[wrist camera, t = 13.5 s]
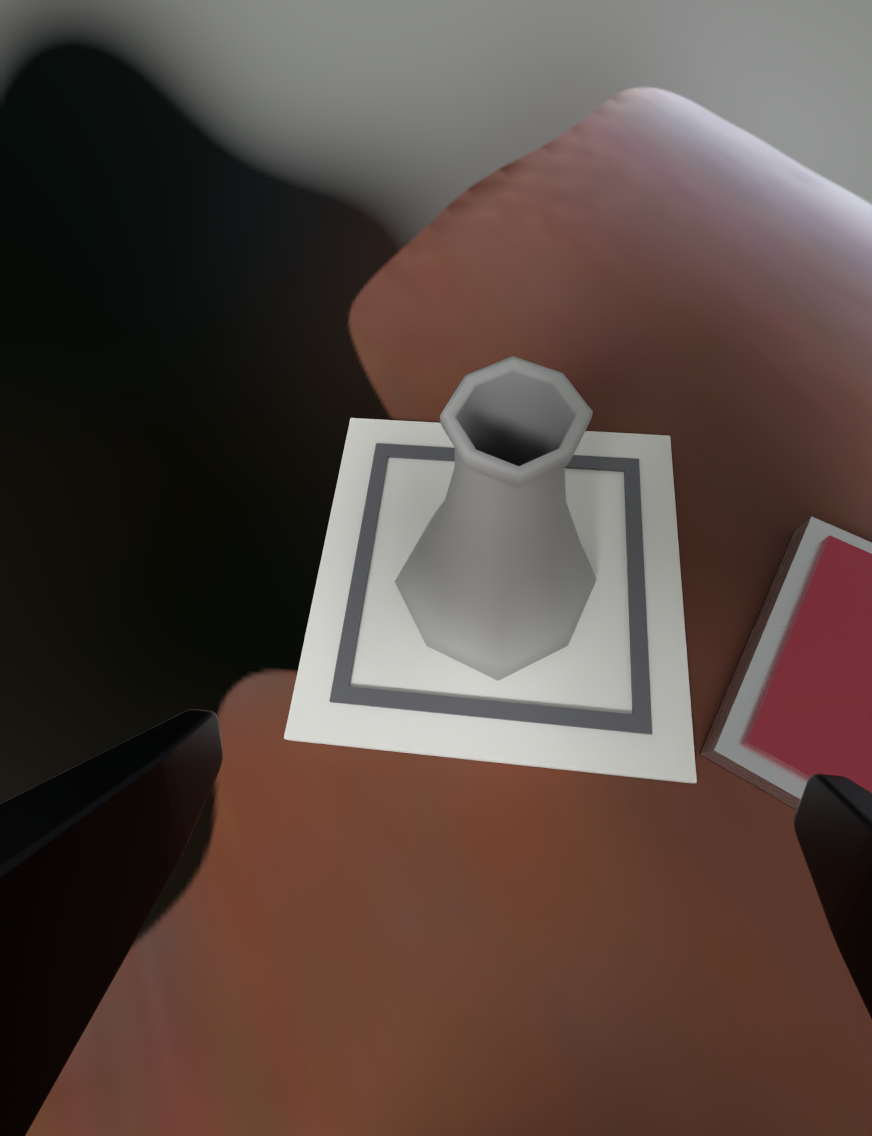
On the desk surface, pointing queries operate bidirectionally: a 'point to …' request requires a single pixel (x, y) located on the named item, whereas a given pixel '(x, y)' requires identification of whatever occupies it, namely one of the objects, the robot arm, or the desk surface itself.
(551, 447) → the flask
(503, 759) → the marked board
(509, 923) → the desk surface
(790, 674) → the ink pad
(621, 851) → the desk surface
